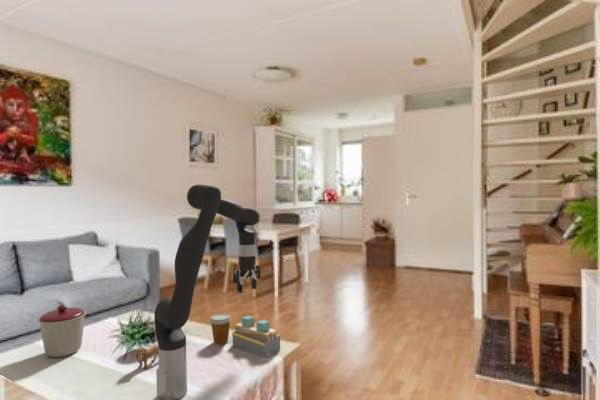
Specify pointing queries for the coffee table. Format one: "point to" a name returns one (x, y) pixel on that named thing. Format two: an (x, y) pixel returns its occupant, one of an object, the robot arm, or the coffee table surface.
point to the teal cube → (263, 325)
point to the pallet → (257, 332)
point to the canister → (62, 330)
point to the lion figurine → (145, 355)
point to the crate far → (248, 321)
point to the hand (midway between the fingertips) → (247, 290)
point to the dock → (255, 343)
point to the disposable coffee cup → (220, 327)
